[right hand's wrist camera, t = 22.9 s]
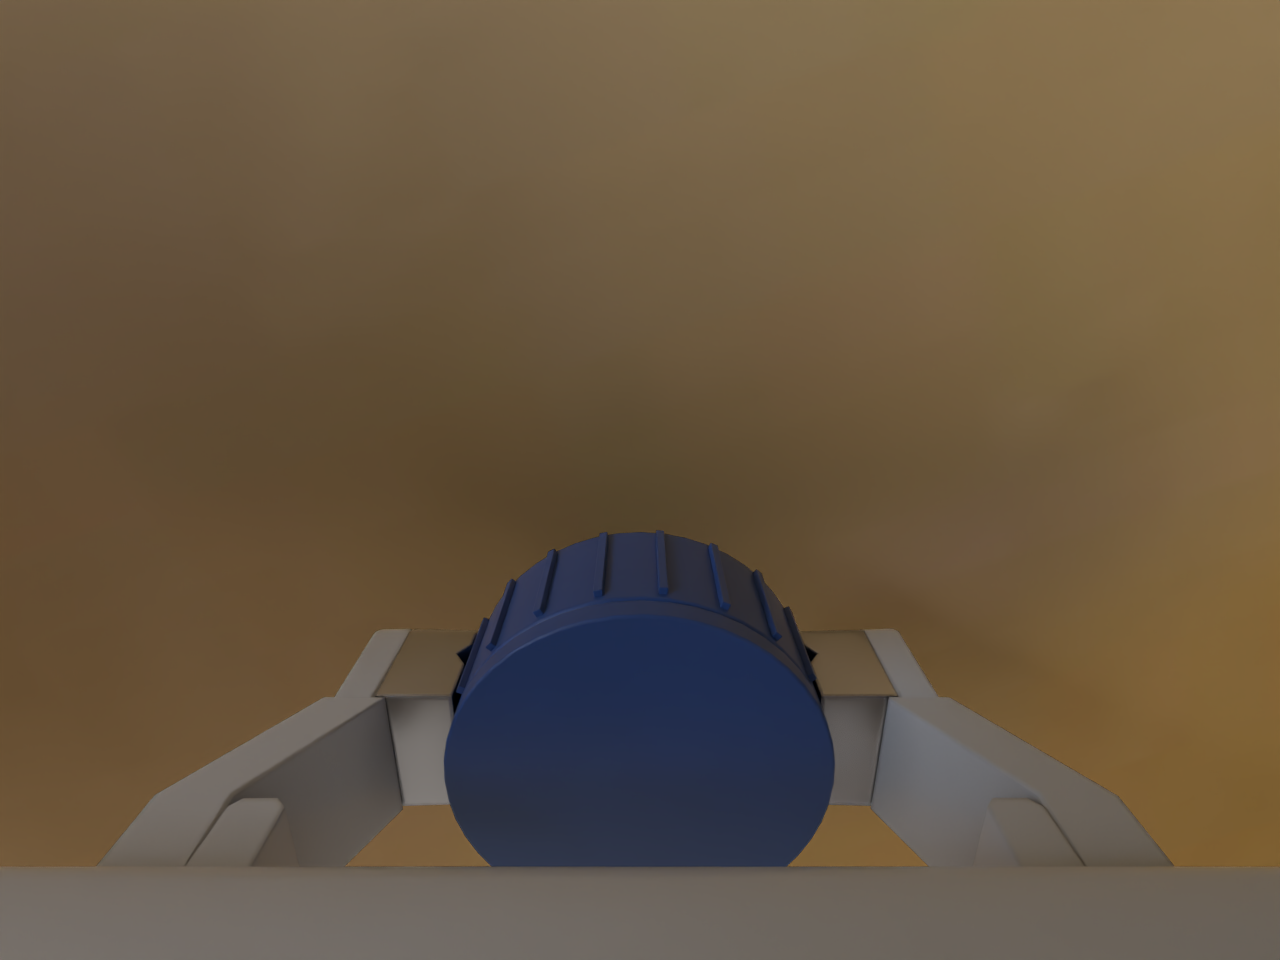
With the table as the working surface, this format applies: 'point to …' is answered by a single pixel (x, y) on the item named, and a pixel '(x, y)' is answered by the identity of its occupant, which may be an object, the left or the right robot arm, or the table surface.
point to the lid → (639, 715)
